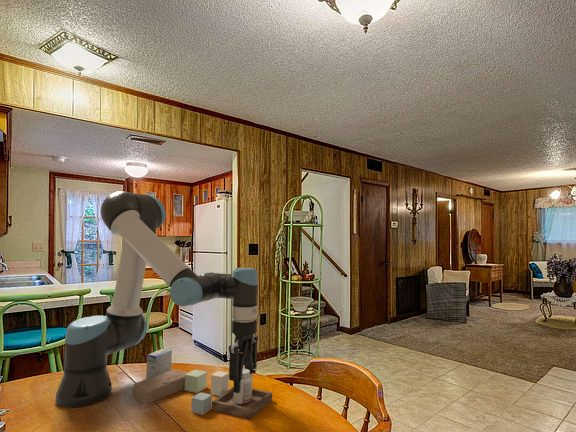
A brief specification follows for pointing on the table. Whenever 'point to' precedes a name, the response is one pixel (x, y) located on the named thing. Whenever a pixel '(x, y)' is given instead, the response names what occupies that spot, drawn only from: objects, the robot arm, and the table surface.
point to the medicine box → (158, 363)
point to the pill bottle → (246, 385)
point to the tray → (244, 409)
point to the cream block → (219, 383)
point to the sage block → (195, 381)
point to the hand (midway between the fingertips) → (242, 399)
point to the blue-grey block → (201, 403)
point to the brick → (159, 386)
